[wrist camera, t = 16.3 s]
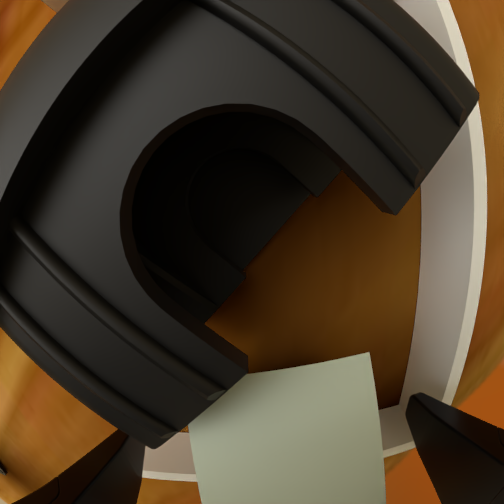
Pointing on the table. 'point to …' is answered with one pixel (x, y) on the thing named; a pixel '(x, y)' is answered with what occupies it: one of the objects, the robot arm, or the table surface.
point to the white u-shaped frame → (431, 266)
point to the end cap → (192, 175)
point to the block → (293, 438)
